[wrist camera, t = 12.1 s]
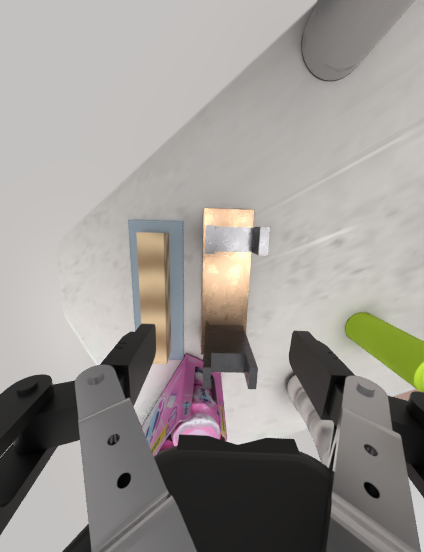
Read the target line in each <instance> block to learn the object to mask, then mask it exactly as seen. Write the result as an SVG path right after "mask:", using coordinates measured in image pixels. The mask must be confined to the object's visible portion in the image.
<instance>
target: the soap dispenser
mask: <svg viewBox="0 0 424 552" xmlns="http://www.w3.org/2000/svg"><path fill="white" fill-rule="evenodd" d="M345 332H346V334H347V336H348V337H349V338H350V339H351V340H353V341H354V342H355V343H357V344H358V345H359V346H361V347H362V348H363V349H365V350H366V351H367V352H368V353H370V354H371V355H372V356H374V357H375V358H376V359H378V360H379V361H380V362H382V363H383V364H384V365H386V366H387V367H388V368H390V369H391V370H392V371H394V372H395V373H396V374H398V375H399V376H400V377H401V378H403V379H404V380H405V381H407V382H408V383H409V384H411V385H412V386H413V387H415V388H416V389H417V390H419V391H420V392H424V341H422V340H420V339H418V338H416V337H414V336H412V335H410V334H408V333H406V332H404V331H402V330H400V329H398V328H396V327H394V326H393V325H391V324H389V323H387V322H385V321H383V320H381V319H379V318H377V317H375V316H373V315H371V314H369V313H364V312H362V313H357V314H355V315H353V316H352V317H351V318H350V319H349V320H348V321H347V323H346V326H345Z"/></svg>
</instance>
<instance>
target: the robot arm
mask: <svg viewBox="0 0 424 552" xmlns="http://www.w3.org/2000/svg"><path fill="white" fill-rule="evenodd" d="M414 1H415V0H318V1H317V3H316V5H315V7H314V10H313V12H312V14H311V16H310V18H309V21H308V23H307V25H306V27H305V30H304V34H303V39H302V53H303V57H304V61H305V63H306V65H307V67H308V68H309V70H310V71H311V72H312V73H313V74H314V75H315V76H317V77H318V78H321V79H323V80H328V81H332V80H338V79H341V78H343V77H345V76H347V75H348V74H350V73H351V72H352V71H353V70H354V69H355V68H356V67H357V66H358V65H359V63H360V62H361V61H362V60H363V59H364V58H365V57H366V56H367V54H368V53H369V52H370V51H371V50H372V49H373V48H374V46H375V45H376V44H377V43H378V42H379V41H380V40H381V39H382V38H383V36H384V35H385V34H386V33H387V32H388V31H389V30H390V28H391V27H392V26H393V25H394V24H395V23H396V22H397V21H398V19H399V18H400V17H401V16H402V15H403V14H404V13H405V11H406V10H407V9H408V8H409V7H410V6H411V5H412V3H413V2H414ZM155 354H156V326H155V324H143V323H142V324H140V326H139V327H138V328H137V330H136V331H135V332H129V333H128V334H126V335H125V336H123V337H122V338H121V340H120V341H119V342H118V344H117V345H116V346H115V347H114V349H112V351H111V352H110V353H109V354H108V356H107V357H106V358H105V359H104V360H103V362H102V363H101V364H100V365H97V366H93V367H91V368H89V369H86V370H85V371H83V372H82V373H81V374H80V375H79V376H78V377H77V378H76V380H75V381H71V382H65V383H60V384H55V385H53V383H52V379H51V377H50V376H48V375H34V376H31V377H27V378H25V379H22V380H20V381H18V382H16V383H14V384H13V385H11V386H10V387H9V388H7V389H6V390H5V391H4V392H3V393H1V394H0V457H1V455H2V454H3V453H4V452H5V451H6V450H7V449H8V447H9V446H10V445H11V444H12V443H13V444H12V445H11V446H10V447H9V449H8V450H7V451H6V452H5V453H4V454H3V456H2V457H1V458H0V535H1V533H2V532H3V530H4V529H5V527H6V526H7V524H8V522H9V521H10V519H11V518H12V516H13V515H14V513H15V512H16V510H17V509H18V507H19V505H20V504H21V502H22V501H23V499H24V498H25V496H26V495H27V493H28V492H29V490H30V488H31V487H32V485H33V484H34V482H35V481H36V479H37V477H38V476H39V474H40V473H41V471H42V470H43V468H44V467H45V465H46V463H47V462H48V460H49V459H50V457H51V456H52V454H53V453H54V451H55V450H56V448H57V447H58V446H59V445H63V444H67V443H70V442H73V441H78V440H80V444H81V454H82V463H83V473H84V483H85V492H86V502H87V512H88V521H89V524H88V525H87V526H86V527H85V528H84V529H83V530H82V531H81V532H80V533H79V534H78V535H77V537H76V538H75V539H74V540H73V541H72V542H71V543H70V544H69V545H68V546H67V547H66V548H65V549H64V550H63V552H421V549H420V544H419V538H418V532H417V526H416V520H415V515H414V509H413V503H412V497H411V491H410V486H409V480H408V477H409V478H410V480H411V481H412V482H413V484H414V485H415V487H416V488H417V489H418V491H419V492H420V493H421V495H422V496H423V497H424V392H412V393H411V395H410V398H409V400H408V401H406V400H402V399H398V398H395V397H391V396H388V395H387V394H386V392H385V391H384V390H383V389H382V388H381V387H380V386H379V385H377V384H376V383H374V382H372V381H370V380H368V379H366V378H363V377H360V376H355V375H354V374H353V373H352V372H351V371H350V370H349V369H348V367H347V366H346V365H345V364H344V363H343V362H342V361H341V360H340V359H338V357H337V356H336V355H335V354H333V352H332V351H331V350H330V349H329V348H328V347H327V346H326V345H325V344H323V343H321V342H320V341H317V340H316V339H315V338H314V337H313V336H312V335H311V334H310V333H309V332H308V331H294V332H293V334H292V339H291V346H290V352H289V362H290V365H291V367H292V369H293V371H294V373H295V374H296V376H297V378H298V380H299V381H300V383H301V385H302V387H303V389H304V390H305V392H306V394H307V396H308V398H309V399H310V401H311V403H312V405H313V406H314V408H315V410H316V412H317V414H318V415H319V417H320V419H321V420H332V421H333V423H334V427H333V431H332V437H331V443H330V448H329V454H328V460H327V466H326V465H324V464H323V463H321V462H320V461H318V460H316V459H315V458H313V457H311V456H309V455H307V454H304V453H302V452H300V451H299V450H298V448H297V445H296V443H295V440H294V439H279V438H264V439H260V440H256V441H252V442H248V443H245V444H241V445H236V444H232V443H229V442H226V441H223V440H220V439H217V438H214V437H210V436H205V435H181V434H179V438H178V445H177V446H174V447H171V448H168V449H166V450H164V451H162V452H160V453H158V454H157V455H155V456H154V457H153V454H152V452H151V449H150V447H149V444H148V442H147V439H146V437H145V434H144V432H143V429H142V427H141V424H140V422H139V419H138V417H137V415H136V412H135V410H134V407H133V406H134V404H135V402H136V400H137V397H138V395H139V393H140V391H141V388H142V386H143V384H144V381H145V379H146V377H147V375H148V372H149V370H150V368H151V366H152V363H153V361H154V358H155Z"/></svg>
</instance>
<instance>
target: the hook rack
mask: <svg viewBox="0 0 424 552" xmlns="http://www.w3.org/2000/svg"><path fill="white" fill-rule="evenodd" d="M253 219H254V210H247V209H212V208H204V230H203V290H202V350H201V354H204V357H203V388H210V385H211V372H241V373H244V374H245V378H246V382H247V386H248V389H256V384H257V372H258V367H257V365H256V362H255V359H254V356H253V353H252V350H251V347H250V345H249V342H248V339H247V336H246V321H247V306H248V292H249V277H250V263H251V252H252V253H255V254H257V255H268V246H269V234H270V227H253Z"/></svg>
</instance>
